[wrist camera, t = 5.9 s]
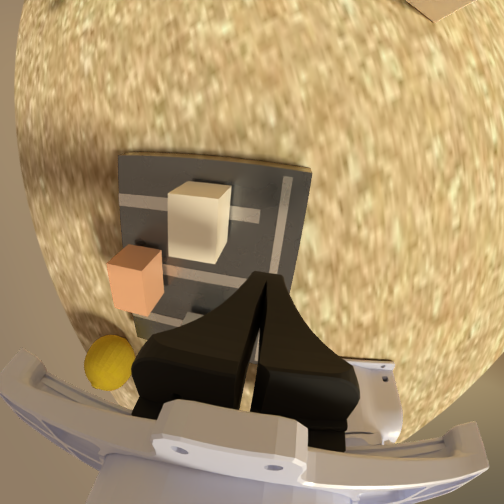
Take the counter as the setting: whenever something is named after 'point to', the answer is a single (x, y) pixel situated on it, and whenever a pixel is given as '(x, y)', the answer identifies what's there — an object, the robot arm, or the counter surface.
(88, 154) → the counter surface
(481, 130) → the counter surface
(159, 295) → the block
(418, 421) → the counter surface
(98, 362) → the lemon
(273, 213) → the panel
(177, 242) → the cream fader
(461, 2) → the milk
